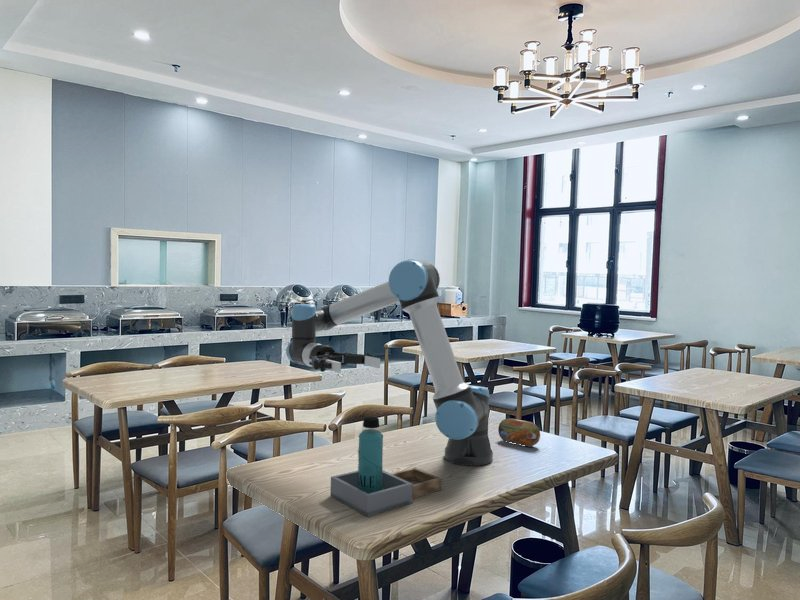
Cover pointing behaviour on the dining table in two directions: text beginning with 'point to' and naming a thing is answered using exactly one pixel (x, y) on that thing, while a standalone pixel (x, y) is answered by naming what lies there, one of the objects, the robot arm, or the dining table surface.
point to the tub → (388, 498)
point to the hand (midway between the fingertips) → (360, 365)
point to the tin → (519, 432)
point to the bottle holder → (427, 481)
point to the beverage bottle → (370, 457)
